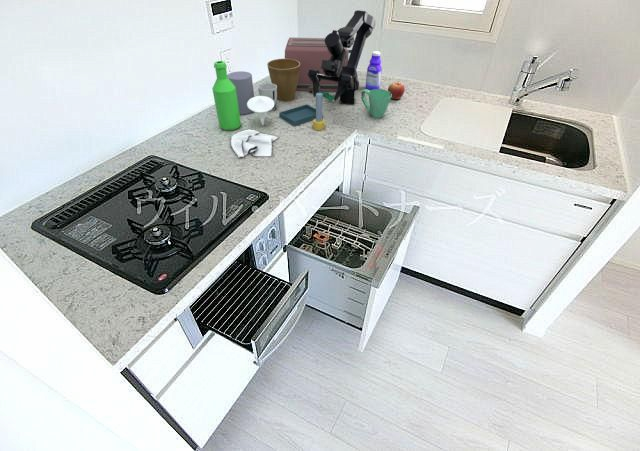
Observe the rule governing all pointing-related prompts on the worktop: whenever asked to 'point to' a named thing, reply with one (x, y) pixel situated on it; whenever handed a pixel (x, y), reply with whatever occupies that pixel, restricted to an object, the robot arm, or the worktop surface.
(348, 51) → the toaster
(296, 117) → the tray
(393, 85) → the apple
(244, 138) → the cloth
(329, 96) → the green spatula
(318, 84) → the robot arm
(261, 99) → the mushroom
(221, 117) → the bottle
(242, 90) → the container
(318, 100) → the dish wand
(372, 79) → the bottle
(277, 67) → the plant pot
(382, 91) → the mug
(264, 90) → the cup
